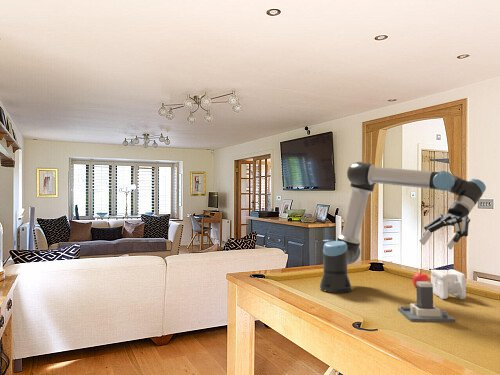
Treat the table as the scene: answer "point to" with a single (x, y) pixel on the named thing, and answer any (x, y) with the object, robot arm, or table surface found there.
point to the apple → (419, 278)
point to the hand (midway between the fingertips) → (434, 244)
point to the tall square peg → (424, 295)
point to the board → (425, 314)
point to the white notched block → (448, 284)
